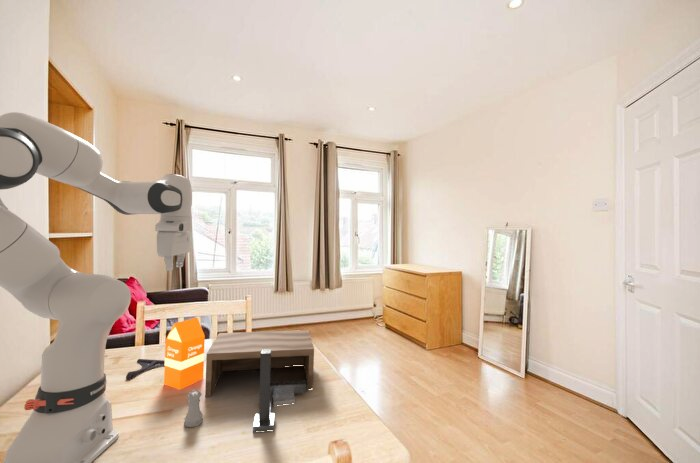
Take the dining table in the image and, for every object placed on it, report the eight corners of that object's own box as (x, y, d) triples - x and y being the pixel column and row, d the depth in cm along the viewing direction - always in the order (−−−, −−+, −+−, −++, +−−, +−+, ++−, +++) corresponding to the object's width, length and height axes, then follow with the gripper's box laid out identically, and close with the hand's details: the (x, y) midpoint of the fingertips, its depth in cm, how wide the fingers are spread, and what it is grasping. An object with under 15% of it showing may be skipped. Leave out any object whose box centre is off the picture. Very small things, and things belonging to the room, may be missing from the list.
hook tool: (307, 428, 82) (310, 354, 81) (252, 433, 80) (254, 356, 78) (305, 388, 100) (307, 326, 99) (260, 390, 98) (262, 327, 96)
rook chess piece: (184, 419, 84) (185, 389, 85) (203, 416, 86) (204, 386, 86) (182, 429, 80) (183, 397, 80) (202, 426, 82) (203, 394, 82)
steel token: (294, 406, 94) (295, 399, 94) (273, 409, 92) (273, 402, 92) (292, 396, 99) (292, 389, 99) (272, 398, 98) (272, 391, 98)
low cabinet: (312, 389, 103) (314, 348, 103) (205, 397, 96) (206, 353, 96) (307, 364, 122) (308, 330, 122) (218, 369, 115) (219, 333, 116)
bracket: (106, 380, 106) (107, 372, 106) (139, 362, 121) (140, 355, 121) (148, 383, 105) (148, 375, 105) (176, 365, 120) (176, 357, 120)
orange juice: (163, 384, 103) (165, 321, 104) (187, 373, 111) (189, 315, 112) (180, 389, 100) (182, 325, 100) (203, 378, 108) (205, 318, 108)
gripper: (176, 225, 114) (175, 265, 114) (152, 225, 94) (151, 272, 94) (195, 226, 115) (194, 265, 115) (176, 225, 95) (174, 272, 95)
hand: (174, 268), depth 104 cm, fingers open, 8 cm apart
